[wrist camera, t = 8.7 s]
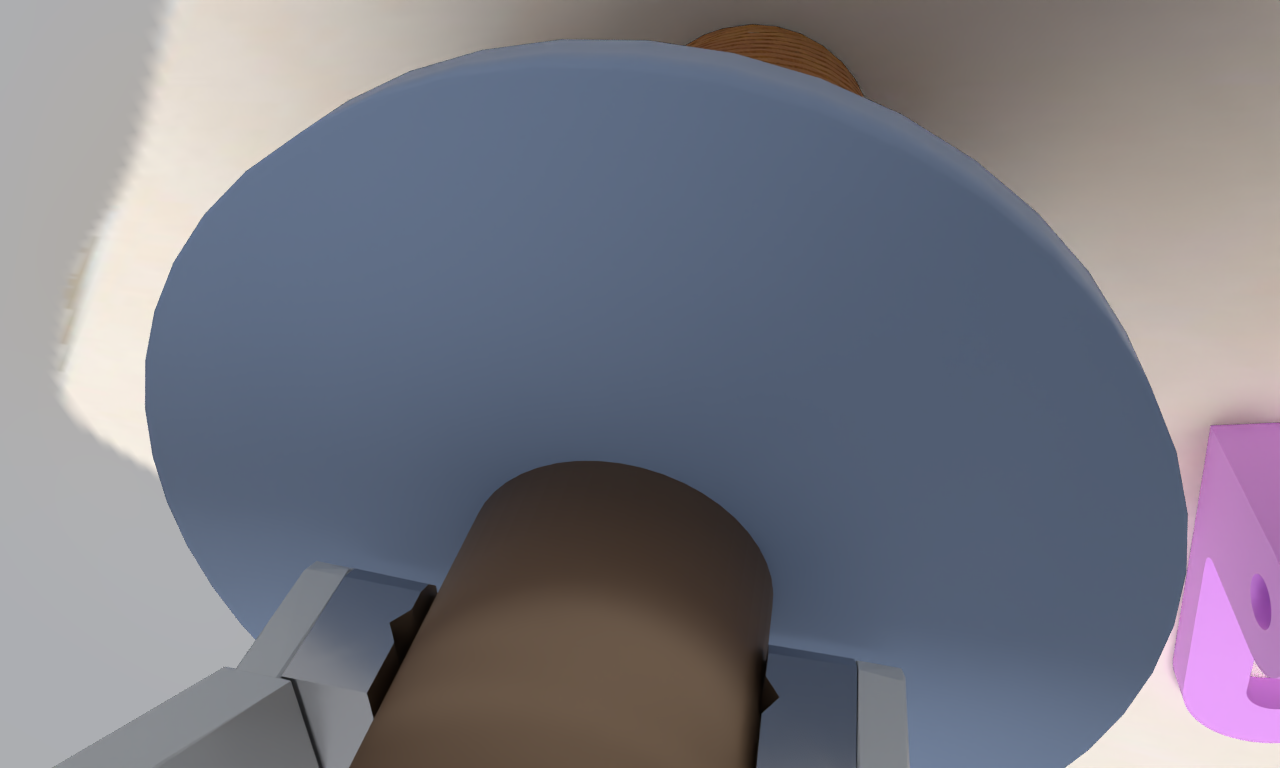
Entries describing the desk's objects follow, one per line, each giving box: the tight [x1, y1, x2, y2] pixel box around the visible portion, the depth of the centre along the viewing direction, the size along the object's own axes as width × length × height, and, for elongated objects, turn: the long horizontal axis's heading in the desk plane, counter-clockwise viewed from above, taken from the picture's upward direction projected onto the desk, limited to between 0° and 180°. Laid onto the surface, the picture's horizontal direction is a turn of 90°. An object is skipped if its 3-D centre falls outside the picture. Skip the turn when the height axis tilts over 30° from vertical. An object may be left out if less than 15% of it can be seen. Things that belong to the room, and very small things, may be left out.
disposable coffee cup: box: [686, 24, 864, 97], centre depth 19 cm, size 10×10×12 cm
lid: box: [145, 39, 1188, 768], centre depth 10 cm, size 13×13×5 cm
